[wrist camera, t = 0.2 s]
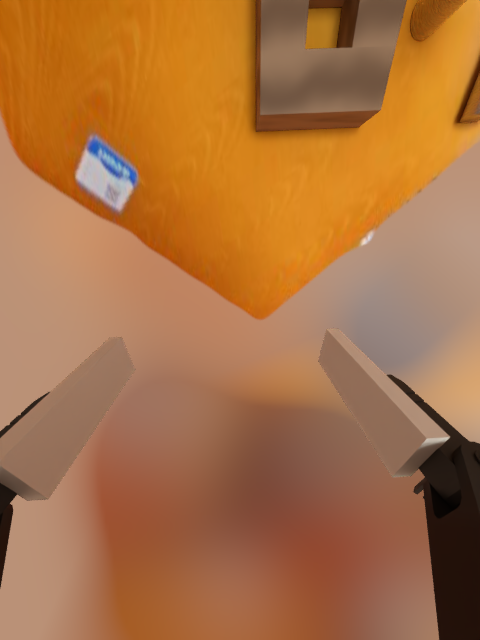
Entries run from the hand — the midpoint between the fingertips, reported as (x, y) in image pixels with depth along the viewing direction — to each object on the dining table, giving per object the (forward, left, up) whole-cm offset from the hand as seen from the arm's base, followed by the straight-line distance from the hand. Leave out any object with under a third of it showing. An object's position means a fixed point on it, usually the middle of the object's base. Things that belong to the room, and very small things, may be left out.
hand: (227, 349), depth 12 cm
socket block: (-28, +13, -28) cm, 42 cm away
